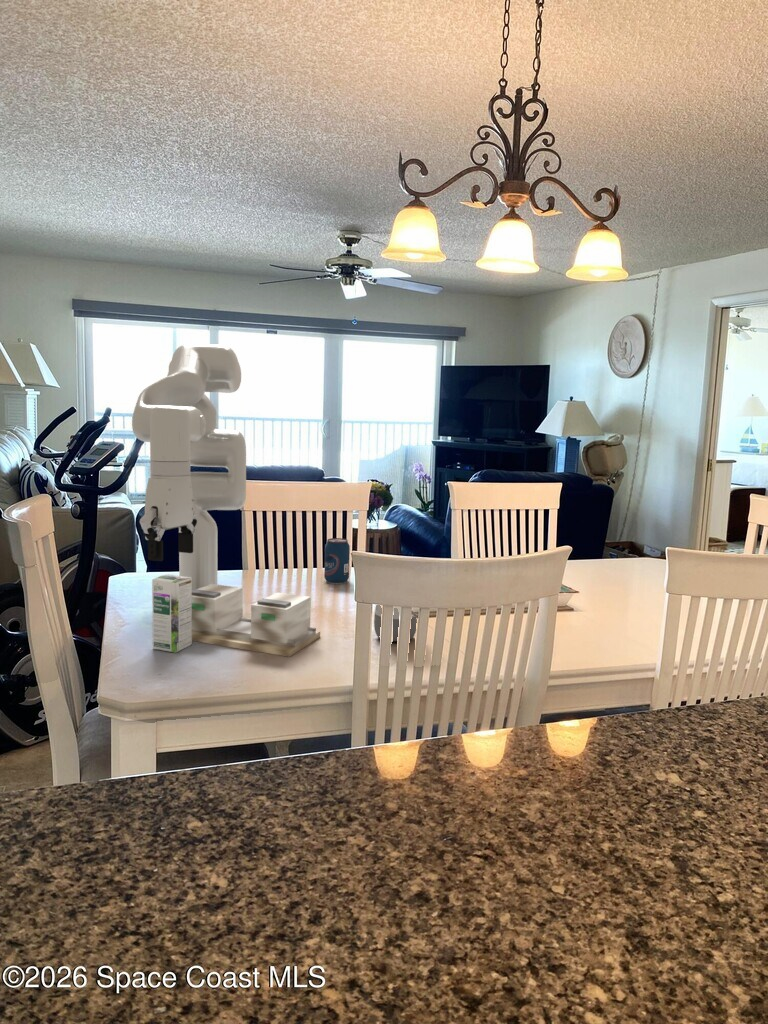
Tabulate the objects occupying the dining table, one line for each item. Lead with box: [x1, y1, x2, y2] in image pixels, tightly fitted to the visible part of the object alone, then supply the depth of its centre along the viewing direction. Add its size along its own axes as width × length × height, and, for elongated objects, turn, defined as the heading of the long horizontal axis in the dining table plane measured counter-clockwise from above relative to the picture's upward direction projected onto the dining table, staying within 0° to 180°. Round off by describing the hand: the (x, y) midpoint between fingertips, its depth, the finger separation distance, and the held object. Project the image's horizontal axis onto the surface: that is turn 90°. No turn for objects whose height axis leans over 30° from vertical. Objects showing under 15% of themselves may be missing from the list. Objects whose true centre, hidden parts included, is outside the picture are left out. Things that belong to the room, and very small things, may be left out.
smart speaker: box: [373, 604, 418, 644], centre depth 158 cm, size 10×9×14 cm
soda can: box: [324, 537, 351, 585], centre depth 207 cm, size 7×7×12 cm
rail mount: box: [192, 584, 321, 657], centre depth 156 cm, size 28×14×10 cm, turn 70°
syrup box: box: [151, 574, 193, 654], centre depth 148 cm, size 6×6×14 cm
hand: (171, 556), depth 146 cm, fingers open, 9 cm apart
